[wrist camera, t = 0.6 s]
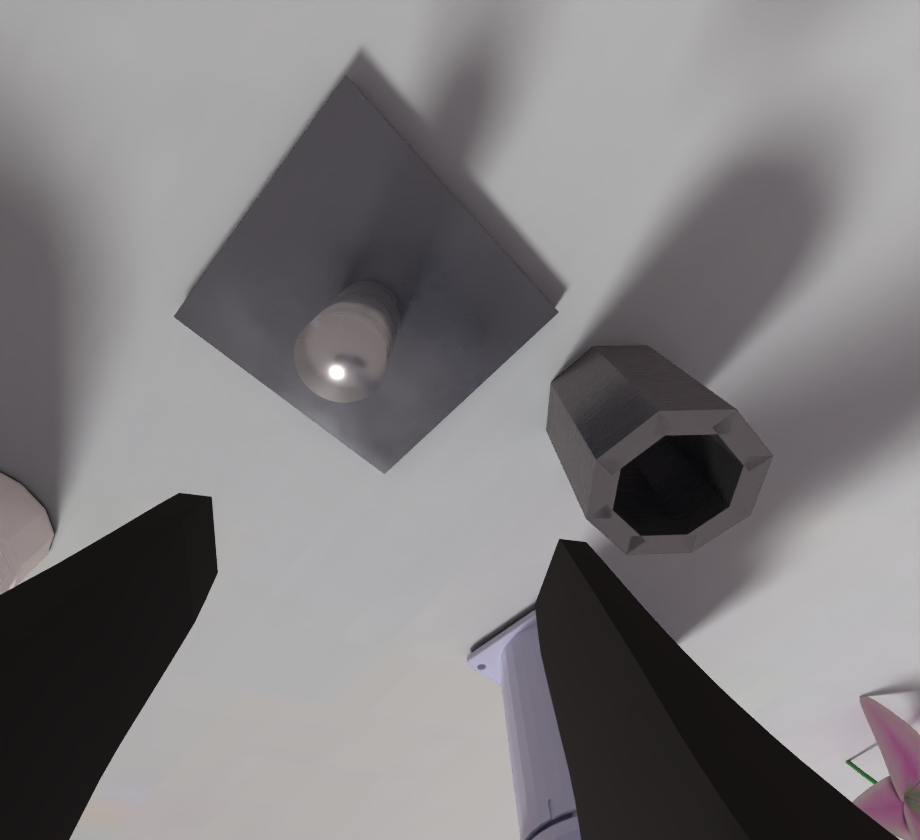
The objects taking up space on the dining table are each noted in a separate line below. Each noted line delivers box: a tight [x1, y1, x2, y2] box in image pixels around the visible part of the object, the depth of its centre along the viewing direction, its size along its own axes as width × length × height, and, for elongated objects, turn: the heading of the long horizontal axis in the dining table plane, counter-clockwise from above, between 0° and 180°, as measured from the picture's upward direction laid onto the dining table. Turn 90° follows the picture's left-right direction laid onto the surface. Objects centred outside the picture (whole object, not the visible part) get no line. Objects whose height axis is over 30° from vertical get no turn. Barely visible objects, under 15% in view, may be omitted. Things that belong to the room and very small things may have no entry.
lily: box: [846, 696, 920, 840], centre depth 29 cm, size 12×12×10 cm
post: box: [174, 76, 558, 474], centre depth 14 cm, size 10×10×6 cm
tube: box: [546, 346, 773, 554], centre depth 16 cm, size 5×5×6 cm
